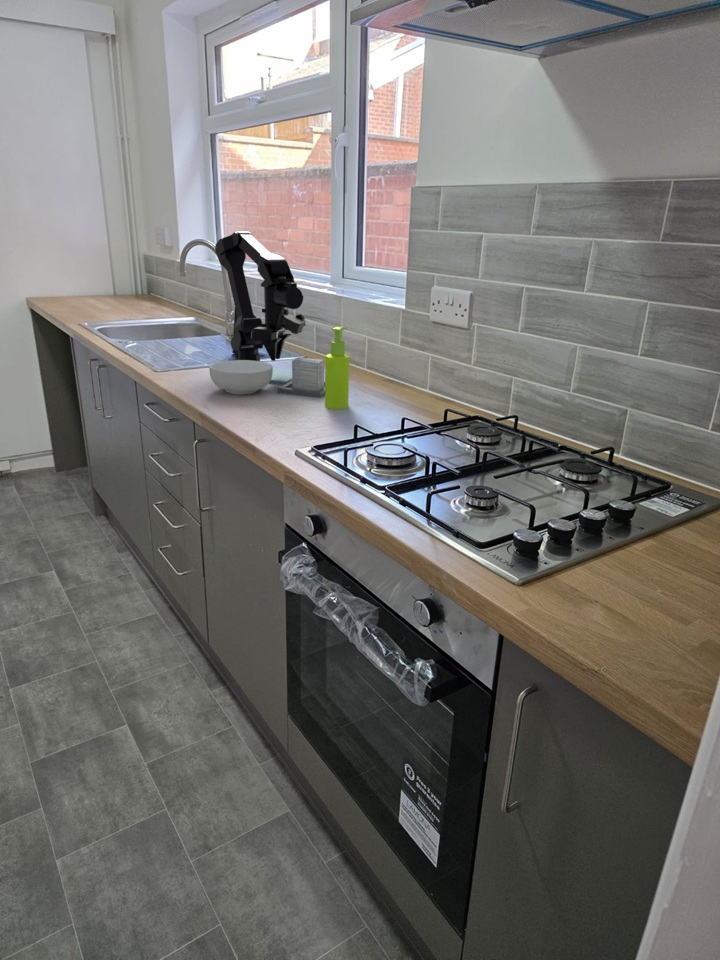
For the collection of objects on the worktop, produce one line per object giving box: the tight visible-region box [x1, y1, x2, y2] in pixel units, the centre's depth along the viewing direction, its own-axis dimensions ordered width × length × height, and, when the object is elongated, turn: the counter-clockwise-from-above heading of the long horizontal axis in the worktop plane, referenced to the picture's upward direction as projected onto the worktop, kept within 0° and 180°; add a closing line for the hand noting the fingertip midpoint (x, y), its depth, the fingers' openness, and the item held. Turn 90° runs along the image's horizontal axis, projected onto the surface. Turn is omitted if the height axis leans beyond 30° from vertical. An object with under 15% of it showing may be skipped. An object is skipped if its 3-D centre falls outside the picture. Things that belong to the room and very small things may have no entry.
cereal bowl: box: [208, 359, 274, 395], centre depth 176 cm, size 17×17×7 cm
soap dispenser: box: [324, 325, 351, 410], centre depth 162 cm, size 6×7×20 cm
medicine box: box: [291, 357, 325, 391], centre depth 178 cm, size 8×4×9 cm, turn 72°
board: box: [269, 369, 292, 386], centre depth 191 cm, size 12×12×1 cm
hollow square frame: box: [277, 381, 325, 398], centre depth 179 cm, size 12×12×2 cm
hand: (275, 359), depth 189 cm, fingers open, 3 cm apart
